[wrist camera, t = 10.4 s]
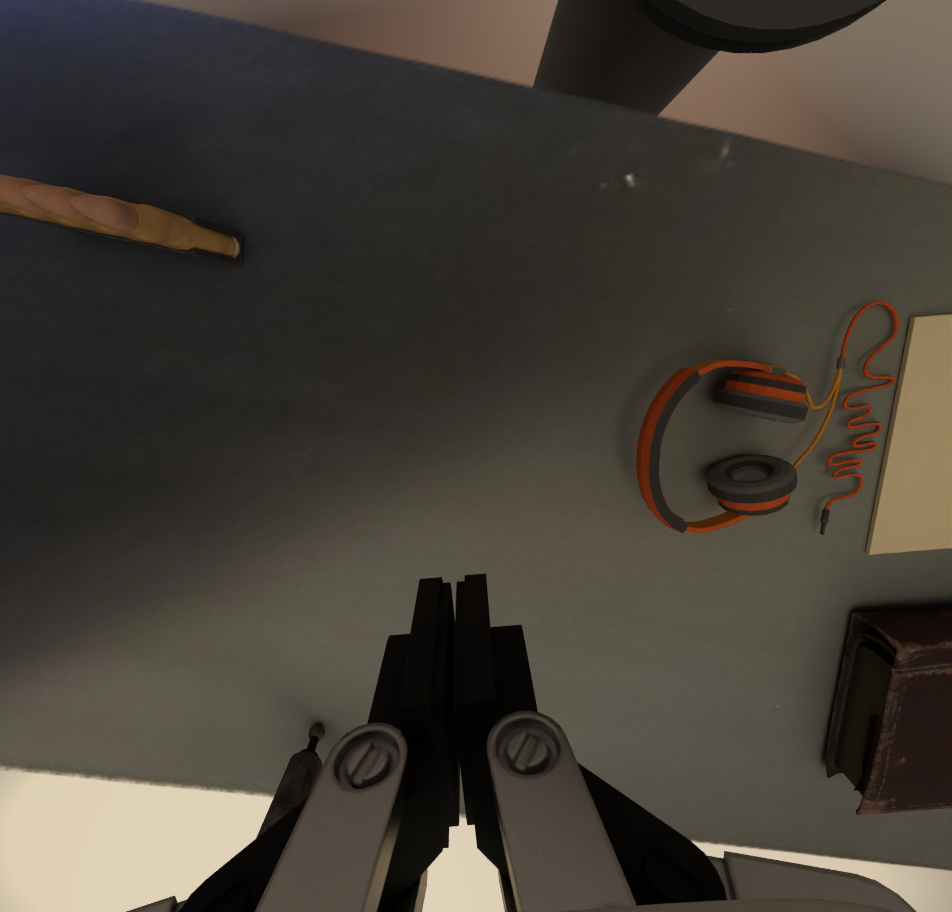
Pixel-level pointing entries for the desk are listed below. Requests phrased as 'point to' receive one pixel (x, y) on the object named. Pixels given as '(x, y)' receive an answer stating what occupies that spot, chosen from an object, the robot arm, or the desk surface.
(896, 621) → the diary
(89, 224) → the ammunition clip
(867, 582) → the desk surface
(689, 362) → the desk surface
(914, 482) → the flat square board
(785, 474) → the headphones
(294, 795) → the microphone
